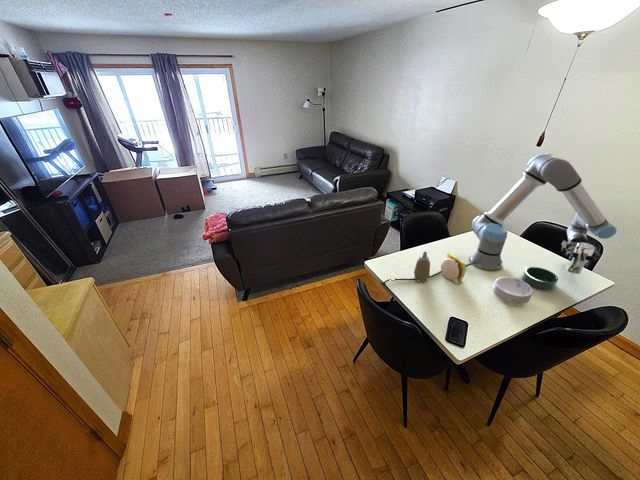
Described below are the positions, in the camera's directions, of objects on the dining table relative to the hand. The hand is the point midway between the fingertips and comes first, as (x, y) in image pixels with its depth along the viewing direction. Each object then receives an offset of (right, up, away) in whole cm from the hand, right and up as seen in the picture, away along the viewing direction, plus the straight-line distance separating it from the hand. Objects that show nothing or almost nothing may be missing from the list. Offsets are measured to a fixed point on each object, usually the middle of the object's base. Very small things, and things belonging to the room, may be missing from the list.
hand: (581, 260), depth 127 cm
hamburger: (-55, -11, +19) cm, 59 cm away
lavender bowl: (-34, -19, +2) cm, 39 cm away
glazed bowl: (-13, -13, +11) cm, 21 cm away
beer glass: (+3, -6, +8) cm, 10 cm away
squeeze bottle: (-71, -12, +18) cm, 75 cm away
